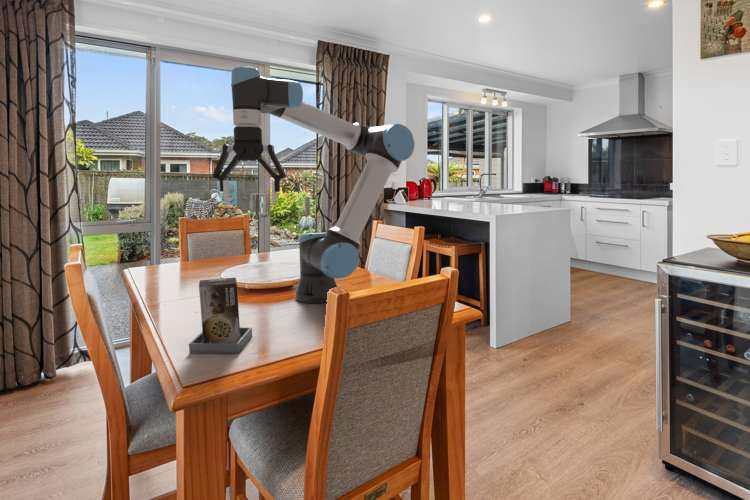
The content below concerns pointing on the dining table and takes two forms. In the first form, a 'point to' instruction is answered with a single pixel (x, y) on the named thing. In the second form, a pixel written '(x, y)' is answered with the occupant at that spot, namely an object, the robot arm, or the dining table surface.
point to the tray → (220, 344)
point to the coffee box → (219, 310)
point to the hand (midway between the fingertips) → (250, 203)
